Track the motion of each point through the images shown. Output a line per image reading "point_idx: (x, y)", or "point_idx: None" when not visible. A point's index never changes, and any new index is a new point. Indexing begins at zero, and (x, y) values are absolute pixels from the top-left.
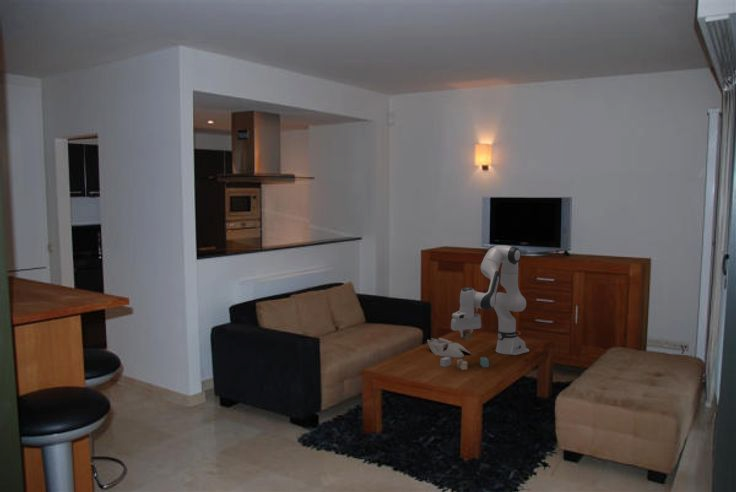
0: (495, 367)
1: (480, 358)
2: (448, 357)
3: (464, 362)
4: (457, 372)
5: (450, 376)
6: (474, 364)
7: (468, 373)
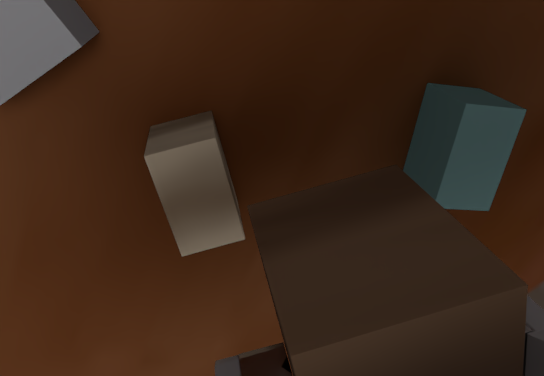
0: (498, 197)
1: (458, 109)
2: (49, 14)
3: (206, 248)
4: (111, 277)
5: (21, 359)
6: (371, 73)
7: (202, 308)
